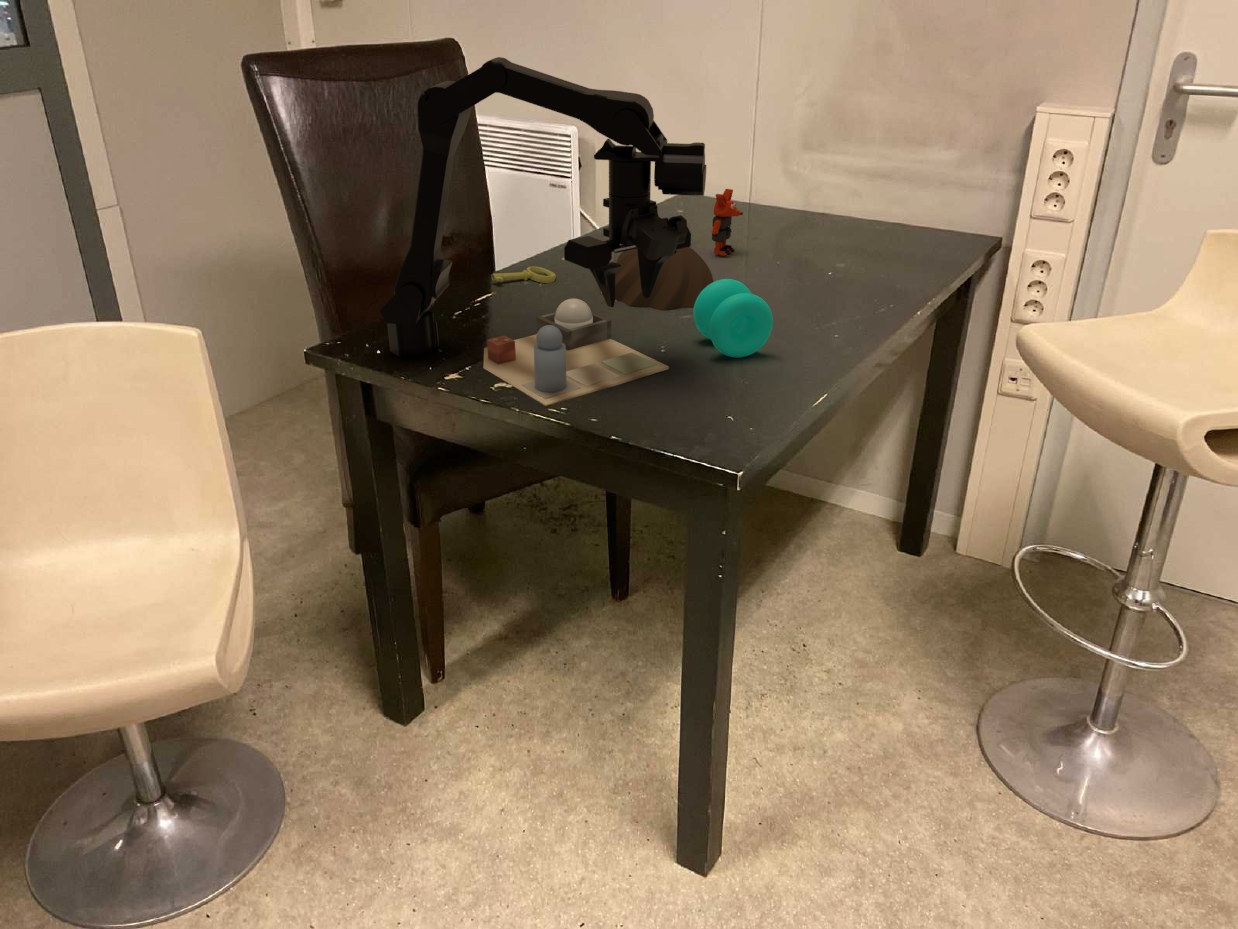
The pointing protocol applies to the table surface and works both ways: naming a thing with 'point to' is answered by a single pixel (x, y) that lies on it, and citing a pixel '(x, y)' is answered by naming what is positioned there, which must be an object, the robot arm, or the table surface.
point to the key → (527, 275)
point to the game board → (570, 360)
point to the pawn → (550, 360)
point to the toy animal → (723, 222)
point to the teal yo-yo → (733, 318)
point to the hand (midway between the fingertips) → (628, 302)
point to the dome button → (573, 314)
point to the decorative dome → (663, 280)
